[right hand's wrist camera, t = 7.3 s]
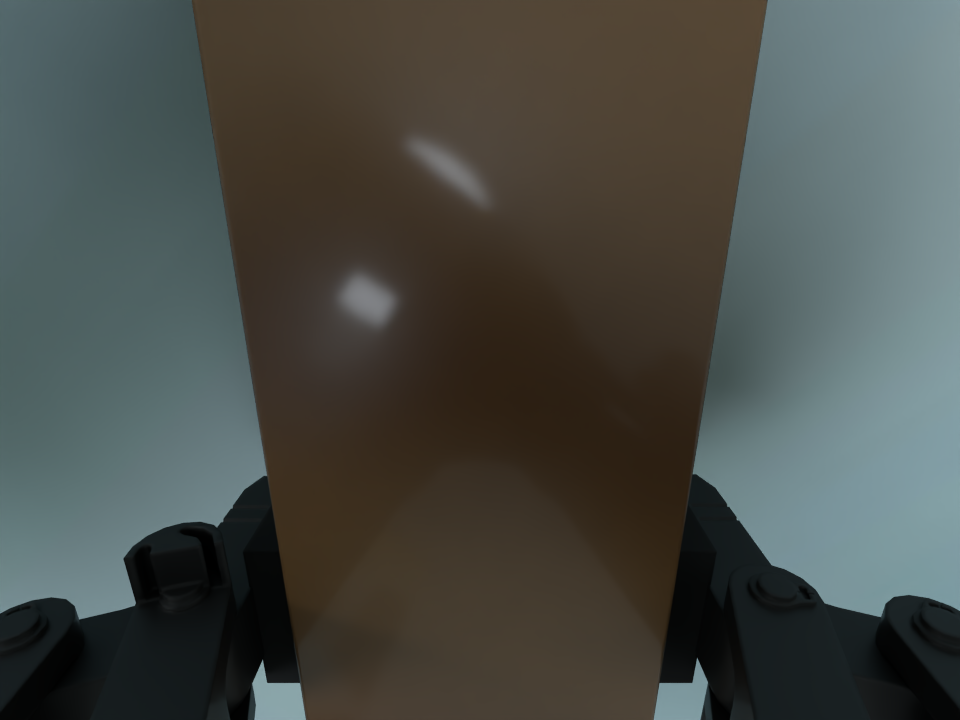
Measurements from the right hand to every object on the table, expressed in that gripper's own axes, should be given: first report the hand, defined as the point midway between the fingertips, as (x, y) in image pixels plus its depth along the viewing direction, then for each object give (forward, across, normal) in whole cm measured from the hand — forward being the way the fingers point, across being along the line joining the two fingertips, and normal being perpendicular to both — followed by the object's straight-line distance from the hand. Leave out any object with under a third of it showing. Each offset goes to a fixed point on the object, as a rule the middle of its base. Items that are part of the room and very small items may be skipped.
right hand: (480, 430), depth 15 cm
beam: (+1, 0, -27) cm, 27 cm away
